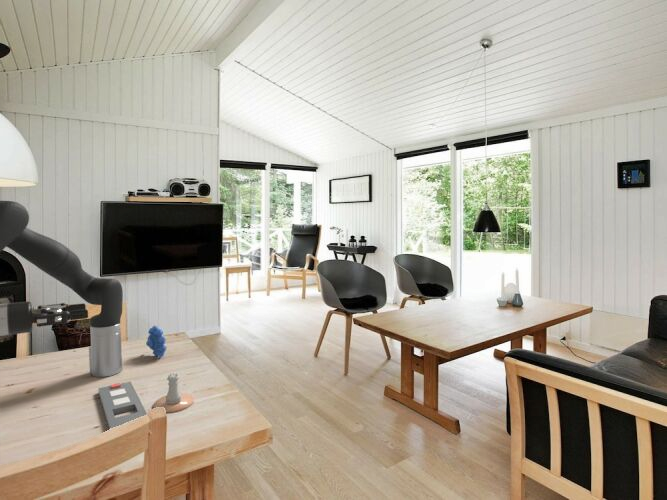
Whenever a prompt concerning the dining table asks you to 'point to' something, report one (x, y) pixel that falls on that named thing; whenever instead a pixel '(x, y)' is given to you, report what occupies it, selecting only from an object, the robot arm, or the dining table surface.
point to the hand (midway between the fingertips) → (86, 310)
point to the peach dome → (183, 404)
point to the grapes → (156, 341)
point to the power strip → (120, 403)
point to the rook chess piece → (173, 390)
